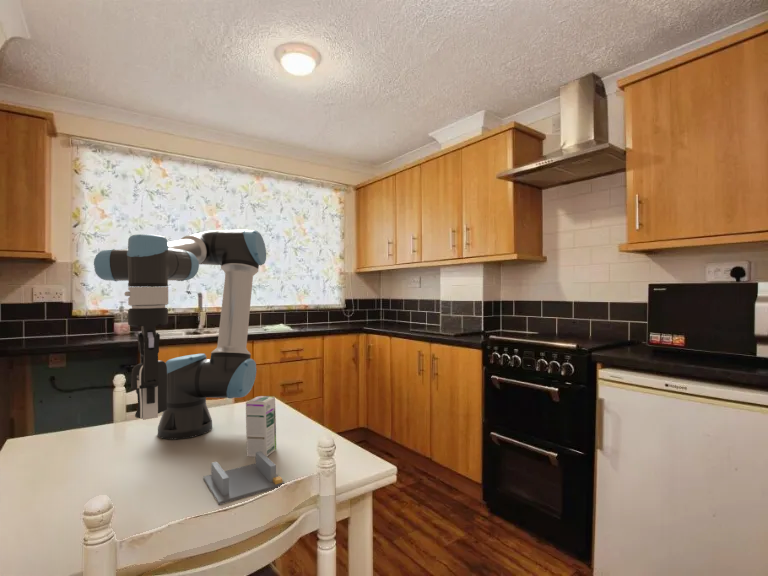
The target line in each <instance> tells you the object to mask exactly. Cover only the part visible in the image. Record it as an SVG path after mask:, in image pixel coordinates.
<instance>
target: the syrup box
mask: <svg viewBox="0 0 768 576" xmlns="http://www.w3.org/2000/svg"><path fill="white" fill-rule="evenodd" d="M276 416H277V415H276V397H275V396H269V395H267V396H266V395H260V396H255V397H254V398H252V399H250V400H247V401H246V402H245V431H246V433H245V434H246V435H245V436H246V437H245V438H246V456H247V457H251V458H256V452H259V451H261V452H262V453H263V454H264V455H265V456H266V457H267V458H268V456H269V455H271V454H272V453H274V452H275V451H276V450H277V427H276V425H277V424H276V423H277V420H276V419H277V418H276Z"/></svg>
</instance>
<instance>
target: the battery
mask: <svg viewBox="0 0 768 576" xmlns="http://www.w3.org/2000/svg"><path fill="white" fill-rule="evenodd" d="M152 380H154V379H152ZM130 381H131V382H130V383H131V384H130V385H131V386H130V387H131V390H135V393H136V394H137V409H136V412H135V414H134V417H135V418H136V419H142V420H143V389H140V387H139V386H140V385H143V384H144V379H143V363H140V362H139V363H138V364H135V365H134V366H133V368H132V369H131V379H130ZM158 381H159V385H157V386H158V415H159V414H160V413H163V411H165V410H167V365H166V361H163V360H158Z"/></svg>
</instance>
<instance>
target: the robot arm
mask: <svg viewBox="0 0 768 576" xmlns="http://www.w3.org/2000/svg"><path fill="white" fill-rule="evenodd" d="M127 240H128V241H127V242H128V243H127V248H123V249H115V248H111V249H103V250H100V251H99V252H98V253H97V254H96V255H95V257H94V260H93V266H94V272H95V274H96V275H97V277H99V279H101V280H103V281H109V282H110V281H112V282H120V281H121V282H122V281H123V282H125V281H128V283H127V287H128V288H127V289H128V291H125V292H124V296H125V297H128V298H127V302H128V306H130V307H131V308H128V310H127V324H128V326H129V327H141V332H139V333H137V335H136V336H137V339H136V340H137V343H138V353H139V364H140V363H143V379H144V384H143V385H140V386H139V387H140V389H143V419H142V421H144V420H150V419H151V420H152V419H157V418H159V414H158V386H157V385H159V381H158V361H159V353H160V346H159V345H160V343H159V342H160V340H161V339H160V338H161V336H160V335H161V334H160V333H159V332H157V331H156V330H157V329H156V326H165V325H168V323H169V309H168V308H167V307H166V306H167V305H169V287H168V286H169V285H168V284H169V283H168V282H169V281H177V282H184V281H189V280H191V279H193V278H194V277H196V276H197V274H198V272H199V269H200V265H205V266H206V265H209V266H220V268H221V270H222V271H223V272H224V274H225V275H224V282H223V292H222V300H221V301H222V303H221V311H220V318H219V327H218V328H219V329H218V335H217V337H218V338H217V346H216V348H214V349H213V350H212V351H211V352H210V358H207V357H208V356H207V355H206V353H196V354H188V355H183V356H177V357H174V358H169V359H168V360H167V361H165V363H166V365H167V410H165V411H163V412H162V414H161V417H160V420H159V423H158V426H157V437H159V438H161V439H165V440H183V439H189V438H190V439H191V438H195V437H198V436H201V435H203V434H206V433H208V432H210V431H211V430H212V429H213V419H212V417H211V414H210V411H209V408H208V405H207V398H208V399H211V398H213V399H214V398H216V399H218V398H219V399H234V398H235V399H236V398H237V399H238V398H244V397H246V396H247V395H248V394H249V393H250V392H251V390H252V389H253V386H254V383H255V380H256V376H257V362H256V361H255V360H254V359H253V358H251V355H252V354H251V352H250V350H249V351H248V348H247V343H248V336H249V335H248V333H249V324H250V323H249V322H250V311H251V302H252V301H251V300H252V292H253V291H252V290H253V280H254V278H253V277H254V276H255V275H256V274H258V273H259V268H260V266H262V265H264V264H265V263H266V261H267V248H266V244H265V239H264V238H263V236H262V234H261V233H260V232H259V231H257V230H255V229H245V228H243V229H225V230H224V229H223V230H222V229H221V230H219V229H217V230H216V229H215V230H213V229H212V230H207V231H202V232H198V233H193V234H190V235H184V236H183V237H182V238H180V239H179V240H173V241H168V238H166V237H165V236H163V235H157V234H148V233H147V234H144V233H143V234H142V233H141V234H132V235H130V236H129V237H128V239H127ZM152 379H154V380H152Z"/></svg>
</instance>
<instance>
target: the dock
mask: <svg viewBox="0 0 768 576" xmlns="http://www.w3.org/2000/svg"><path fill="white" fill-rule="evenodd" d="M210 464H211V468H210V470H211V472H210V473H211V474H208V475H204V476H203V478H202V479H203V481H204V483H205V484H206V486H207V487H208V489H209V491H210V492H211V494H212V496H213V497H214V499H215V501H216V502H217V504H218V505H223V504H226V503H230V502H233V501H236V500H239V499H243V498H246V497H250V496H253V495H257V494H261V493H264V492H267V491H270V490H273V489H277V488H279V487H278V486H280V485H282V484H284V483H285V484H286V482H285V481H284V480H283V478H282V477H281V476H280V475H277V466H276V464H275V462H273V461H272V460H271V459H269V458H268V456H267V457H266V456H265V455H264V454H263V453H262V452H261V451H259V452H256V457H255V463H251V464H247V465H244V466H239V467H236V468H231V469H227V470H224V469H223V468H222V466H221V465H220V464H219V462H218V461H214V462H211V463H210ZM276 487H277V488H276Z"/></svg>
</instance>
